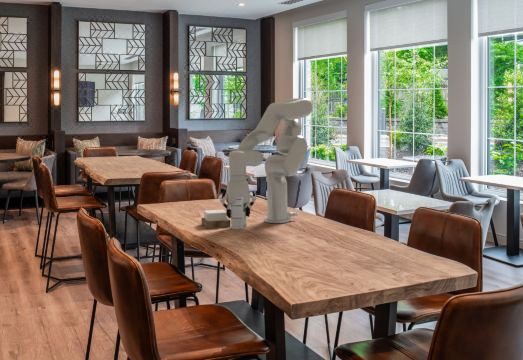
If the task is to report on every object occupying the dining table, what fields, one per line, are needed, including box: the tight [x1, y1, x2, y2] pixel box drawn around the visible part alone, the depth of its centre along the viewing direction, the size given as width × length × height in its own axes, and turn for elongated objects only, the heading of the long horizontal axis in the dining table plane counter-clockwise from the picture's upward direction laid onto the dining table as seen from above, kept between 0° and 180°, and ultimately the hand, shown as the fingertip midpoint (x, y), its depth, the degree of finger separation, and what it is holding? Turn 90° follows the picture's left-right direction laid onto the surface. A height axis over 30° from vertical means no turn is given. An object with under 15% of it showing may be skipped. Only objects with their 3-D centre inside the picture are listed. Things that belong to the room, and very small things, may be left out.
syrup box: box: [230, 197, 247, 230], centre depth 284 cm, size 6×6×14 cm
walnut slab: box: [201, 217, 231, 229], centre depth 291 cm, size 11×11×4 cm
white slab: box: [203, 209, 228, 221], centre depth 291 cm, size 9×9×4 cm
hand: (238, 216), depth 284 cm, fingers open, 8 cm apart
